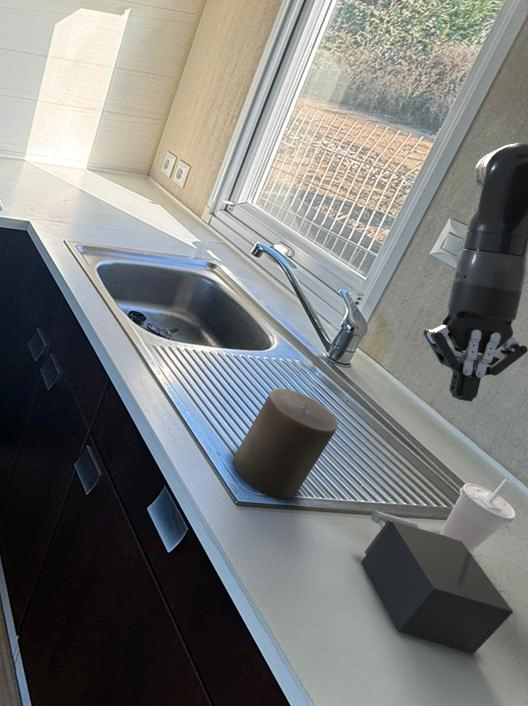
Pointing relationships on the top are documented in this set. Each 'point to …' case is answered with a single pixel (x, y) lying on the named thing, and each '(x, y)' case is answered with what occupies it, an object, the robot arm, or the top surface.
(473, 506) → the smoothie
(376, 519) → the dark grey angled piece
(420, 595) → the dark grey box
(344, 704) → the top surface
